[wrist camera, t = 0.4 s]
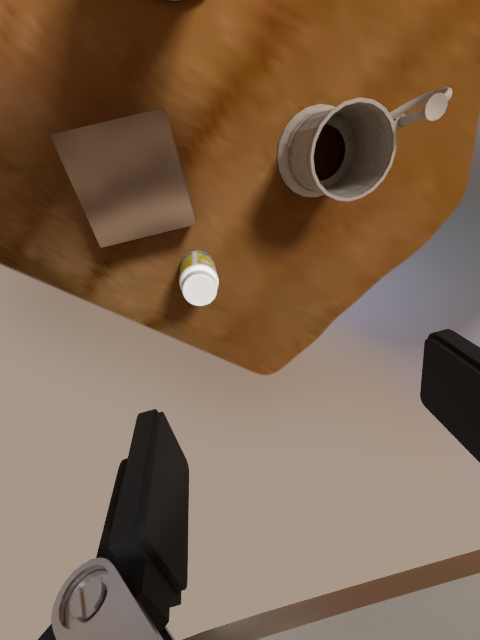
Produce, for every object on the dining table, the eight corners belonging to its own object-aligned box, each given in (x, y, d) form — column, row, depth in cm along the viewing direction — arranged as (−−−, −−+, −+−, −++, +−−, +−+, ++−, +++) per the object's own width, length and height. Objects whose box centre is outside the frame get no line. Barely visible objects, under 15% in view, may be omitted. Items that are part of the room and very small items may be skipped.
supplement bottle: (183, 285, 42) (182, 312, 35) (177, 252, 40) (174, 274, 33) (217, 280, 43) (222, 306, 35) (212, 247, 40) (217, 268, 33)
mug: (298, 212, 40) (336, 232, 29) (263, 137, 35) (293, 129, 24) (398, 147, 38) (478, 143, 27) (375, 58, 33) (461, 13, 22)
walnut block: (68, 137, 32) (49, 134, 28) (167, 114, 32) (164, 107, 28) (111, 237, 38) (100, 247, 33) (195, 216, 38) (196, 224, 34)
